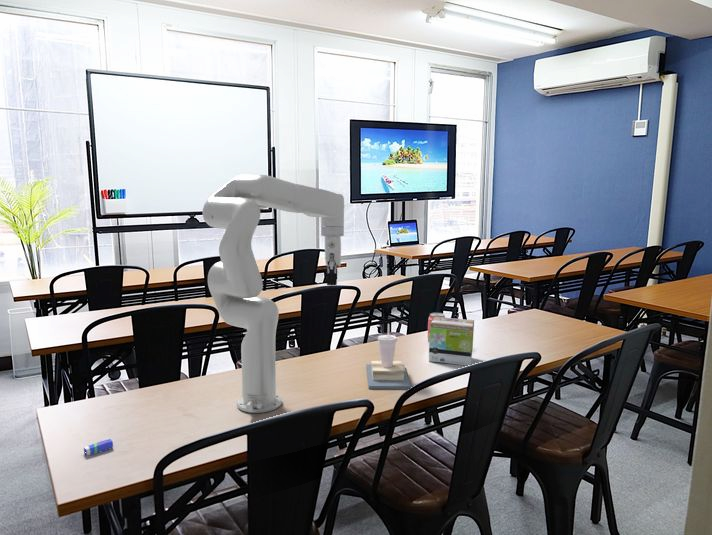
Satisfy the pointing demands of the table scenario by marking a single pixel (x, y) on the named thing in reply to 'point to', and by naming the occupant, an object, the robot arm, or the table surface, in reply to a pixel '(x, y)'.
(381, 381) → the board
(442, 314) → the soda can
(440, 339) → the tea box
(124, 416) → the table surface
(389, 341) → the smoothie
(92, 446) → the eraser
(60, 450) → the table surface
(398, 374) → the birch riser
